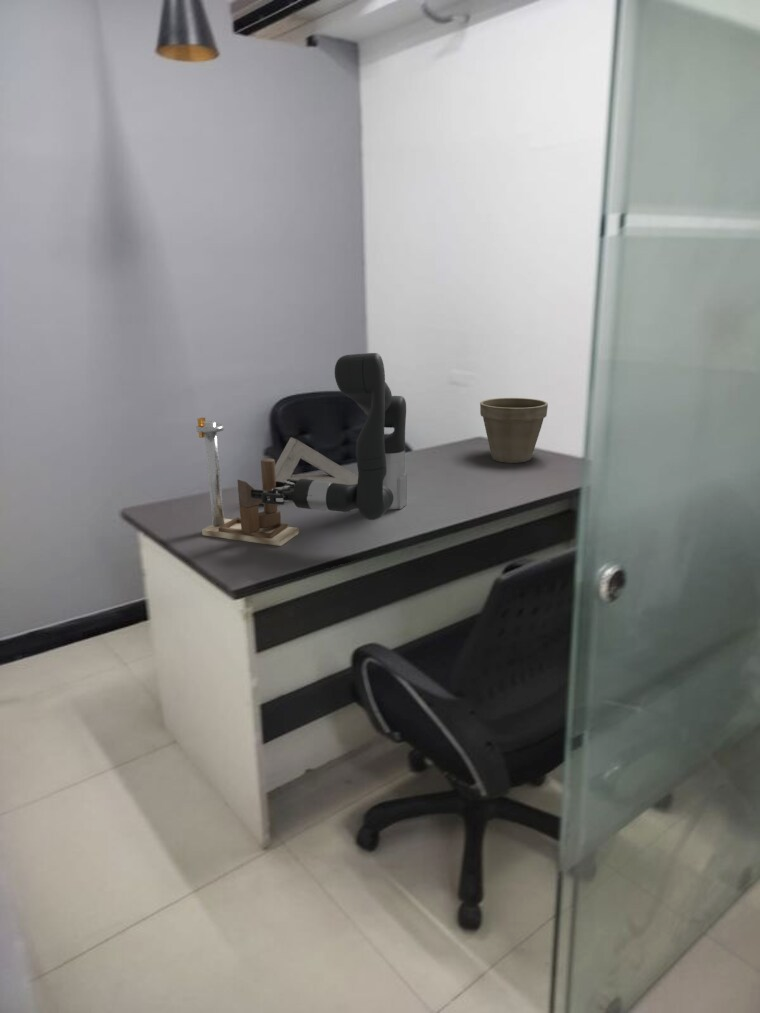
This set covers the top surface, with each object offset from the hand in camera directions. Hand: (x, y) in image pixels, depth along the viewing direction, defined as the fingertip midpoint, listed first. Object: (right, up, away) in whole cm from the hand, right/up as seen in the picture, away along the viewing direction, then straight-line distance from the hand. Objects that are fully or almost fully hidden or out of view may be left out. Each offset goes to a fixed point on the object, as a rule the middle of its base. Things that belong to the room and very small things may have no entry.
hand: (260, 488), depth 179 cm
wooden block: (0, -10, +3) cm, 11 cm away
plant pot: (+82, +14, +81) cm, 116 cm away
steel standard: (-13, -11, +9) cm, 19 cm away
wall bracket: (+10, -1, +39) cm, 41 cm away
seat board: (-4, -12, +5) cm, 14 cm away
